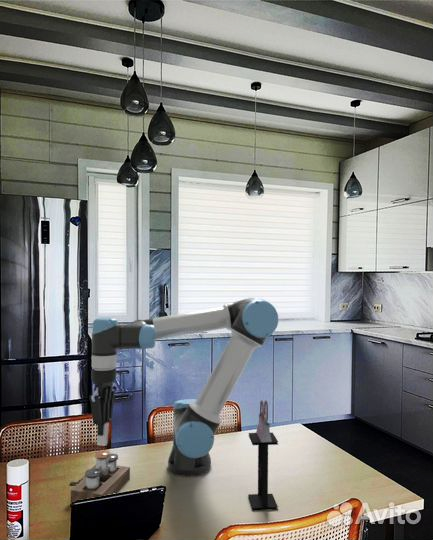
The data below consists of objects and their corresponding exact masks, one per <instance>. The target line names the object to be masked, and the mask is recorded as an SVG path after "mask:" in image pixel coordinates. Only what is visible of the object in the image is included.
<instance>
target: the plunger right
mask: <svg viewBox="0 0 433 540" xmlns="http://www.w3.org/2000/svg"><path fill="white" fill-rule="evenodd" d="M118 459H119V455H118V454H117V453H110V456H109V457H108V473H110V474H114V473H115V472H116V471H117V466H118V465H117V464H118V462H117V461H118Z"/></svg>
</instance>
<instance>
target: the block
mask: <svg viewBox="0 0 433 540" xmlns="http://www.w3.org/2000/svg"><path fill="white" fill-rule="evenodd" d="M130 480H131V467H130V466H123V465H117V471H116V472H115V473H114V474H110V473H108V480H106V481H103V482H100V481H99V488H98V489H97V490H96V491H91V490H86V478H85V479H83V480H82V481H81V482H80V483H79V484H77V483H76V484H77V485H76V486H74V487H72V489H71V490H70V504H71V503H72V502H73V501H76V500H81V499H87V498H92V497H99V496H104V495H108V494H113V493H116V494H118V493H119V491H121V490H122V489H123V487H124V486H125V485H126V484H127V483H128V482H129V481H130Z"/></svg>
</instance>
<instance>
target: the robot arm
mask: <svg viewBox="0 0 433 540" xmlns="http://www.w3.org/2000/svg"><path fill="white" fill-rule="evenodd" d="M278 325H279V314H278V311H277V309H276V307H275V306H274V305H273V304H272V303H270V301H267V300H265V299H262V298H255V297H250V298H249V297H248V298H245V299H244V298H243V299H240V300H238V301H233V302H229V303H224V304H223V306H220V307H216V308H215V307H213V308H210V309H203V310H197V311H191V312H186V313H185V312H184V313H178V314H172V315H171V314H170V315H166V316H159V317H154V318H153V317H152V318H146V319H136V320H134V321H132V322H131V323H130V324H119V323H118V319H117V318H115V317H98V318H95V319H94V320H93V322H92V333H91V334H92V335H91V357H90V358H91V368H92V369H91V372H90V373H91V374H90V377H91V379H90V380H91V382H92V383H93V384H94V388H93V394H90V395H89V396H88V399H89V402H90V408H91V417H92V418H91V419H92V424H93V425H96V426H97V427H96V428H97V433H96V435H97V437H96V438H97V439H96V445H97V446H103V447H105V446H107V445H108V437H109V435H108V432H109V430H108V429H109V423H112V418H113V412H114V405H115V404H114V403H115V397H116V391H117V386H116V385H113V384H114V383H113V382H115V381H116V379H117V368H116V367H117V365H118V364H117V362H118V361H117V360H118V359H117V357H118V356H117V355H118V354H117V350H118V349H119V350H120V349H121V350H123V349H124V350H125V349H128V350H129V349H133V350H134V349H135V350H137V349H138V350H141V349H142V350H146V349H153V348H155V346H156V340H162V339H163V340H164V339H168V338H174V337H181V336H187V335H192V334H194V335H195V334H198V333H204V332H210V331H211V332H212V331H216V330H217V331H219V330H224V329H226V330H227V331H230V333H231V337H230V339H229V340H228V342H227V344H226V346H225V348H224V350H223V351H222V353H221V355H220V357H219V358H218V360H217V362H216V364H215V366H214V368H213V370H212V372H210V375H209V377H208V378H207V380H206V383H205V385H204V386H203V388H202V390H201V391H200V393H199V395H198V397H197V398H195V399H193V398H186V399H179V400H176V401H175V402H174V404H173V409H172V410H173V419H172V420H173V425H172V426H173V429H172V430H173V436H172V438H173V439H172V441H173V443H172V447H171V450H170V452H169V456H168V460H167V470H168V471H169V472H170V473H171V474H173V475H176V476H180V477H196V476H201V475H204V474H206V473H208V472H209V471H210V470H211V468H212V458H211V455H210V452H211V450H212V448H213V446H214V442H215V434H216V432H217V430H218V428H219V426H220V425H221V423H222V421H221V416H220V415H221V412H222V411H223V409H224V407H225V405H226V403H227V401H228V400H229V398H230V396H231V394H232V392H233V390H234V389H235V387H236V385H237V383H238V381H239V379H240V378H241V376H242V374H243V372H244V370H245V368H246V366H247V365H248V363H249V361H250V358H251V357H252V356H253V353H254V352H255V350H256V349H258V348H260V347H263V344H264V343H265V341H266V339H268V338H267V337H270V335H272V334H273V333H275V331H276V330H277V328H278Z"/></svg>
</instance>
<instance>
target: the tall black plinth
mask: <svg viewBox="0 0 433 540" xmlns="http://www.w3.org/2000/svg"><path fill="white" fill-rule="evenodd" d="M268 420H269V403H268V401H267V400H260V402H259V413H258V424H257V427H256V432H248V438H249V439H250V442H251V445H252V446H257V493H252V494H251V493H250V494H249V493H248V494H247V496H248V497H247V498H248V501H249V505H250V508H251V510H252V512H253V511H278V510H279V509H278V508H279V506H278V503H277V502H276V499H275V497H274V495H273V493H269V446H272V445H273V446H276V445H277V446H278V445H279V441H278V439H277V437H276V436H275V434H274V432H271V431H270V429H271V428H270V426H271V425H270V423H269V422H268Z"/></svg>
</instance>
